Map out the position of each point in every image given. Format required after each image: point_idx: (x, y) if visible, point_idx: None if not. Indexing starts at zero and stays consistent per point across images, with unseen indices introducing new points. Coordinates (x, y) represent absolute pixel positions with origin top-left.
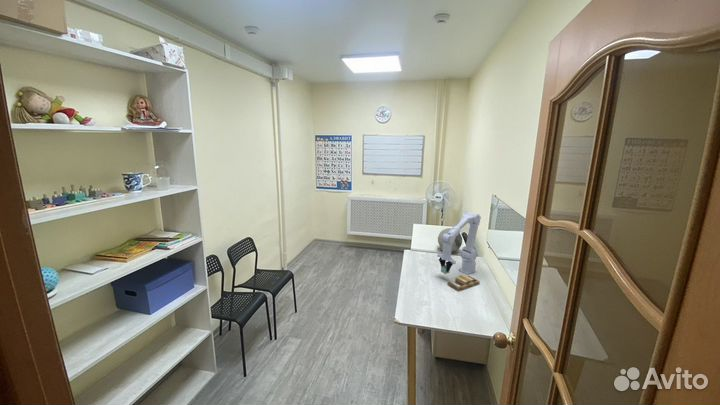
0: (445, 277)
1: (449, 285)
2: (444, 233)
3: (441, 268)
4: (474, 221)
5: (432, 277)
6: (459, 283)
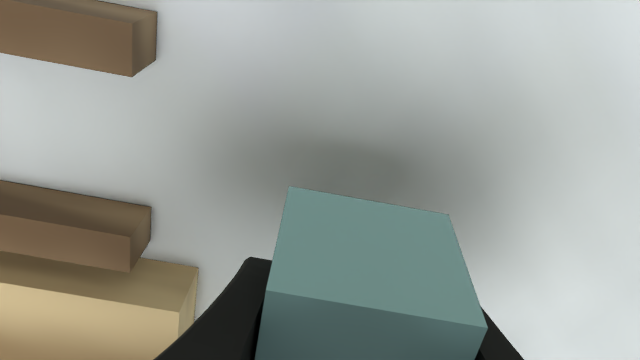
0: None
1: (93, 2)
2: None
3: (450, 273)
4: None
5: (565, 39)
6: (37, 204)
